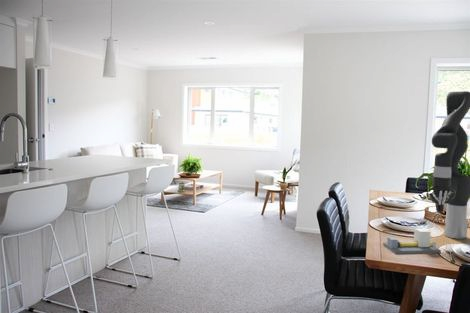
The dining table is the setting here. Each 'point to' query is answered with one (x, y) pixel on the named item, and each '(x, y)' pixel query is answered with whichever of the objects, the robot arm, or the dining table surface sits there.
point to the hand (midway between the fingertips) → (439, 212)
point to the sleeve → (422, 237)
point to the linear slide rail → (409, 247)
